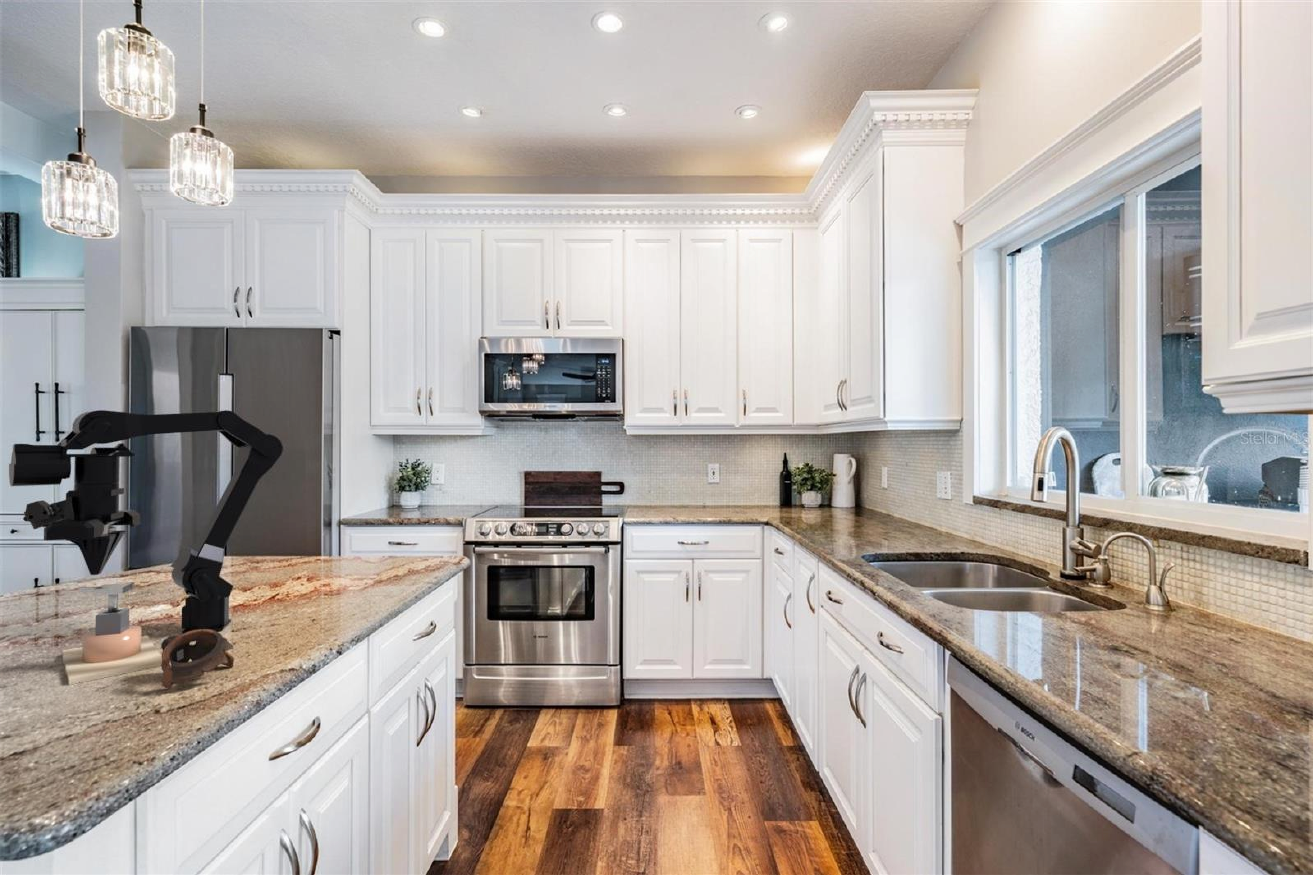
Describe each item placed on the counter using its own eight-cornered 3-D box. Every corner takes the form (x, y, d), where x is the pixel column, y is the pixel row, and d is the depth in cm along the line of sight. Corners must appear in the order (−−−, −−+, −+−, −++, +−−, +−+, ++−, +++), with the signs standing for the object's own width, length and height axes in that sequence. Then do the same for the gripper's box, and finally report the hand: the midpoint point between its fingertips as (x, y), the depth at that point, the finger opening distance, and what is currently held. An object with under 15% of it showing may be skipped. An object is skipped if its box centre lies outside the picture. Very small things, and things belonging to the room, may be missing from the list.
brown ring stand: (254, 669, 97) (244, 633, 93) (199, 718, 89) (186, 681, 85) (193, 645, 99) (181, 608, 95) (134, 691, 91) (118, 653, 87)
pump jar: (148, 645, 104) (149, 604, 104) (130, 659, 97) (130, 615, 97) (94, 651, 101) (95, 608, 101) (72, 665, 94) (73, 620, 94)
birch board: (61, 655, 101) (61, 650, 101) (147, 640, 109) (147, 635, 109) (69, 684, 89) (69, 679, 89) (164, 665, 97) (164, 660, 97)
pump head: (132, 607, 102) (132, 582, 102) (122, 613, 98) (122, 587, 98) (85, 611, 99) (85, 585, 99) (73, 617, 96) (73, 590, 96)
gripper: (65, 481, 110) (64, 567, 109) (0, 488, 92) (-2, 590, 92) (142, 480, 114) (140, 563, 114) (93, 486, 96) (91, 584, 96)
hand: (95, 574), depth 104 cm, fingers closed
